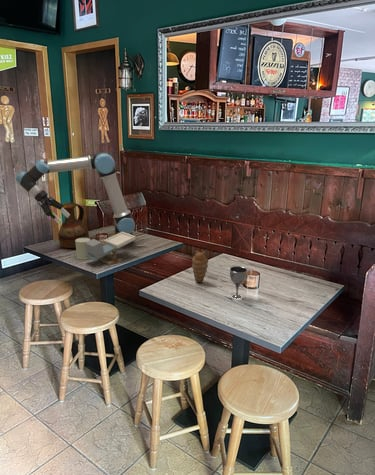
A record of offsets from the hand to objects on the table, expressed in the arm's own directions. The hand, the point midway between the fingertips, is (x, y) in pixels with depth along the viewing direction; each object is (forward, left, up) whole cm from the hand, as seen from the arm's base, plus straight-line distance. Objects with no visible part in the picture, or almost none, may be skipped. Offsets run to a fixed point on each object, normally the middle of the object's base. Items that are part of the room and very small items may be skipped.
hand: (64, 219), depth 230 cm
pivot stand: (-16, +23, -24) cm, 37 cm away
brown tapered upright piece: (-33, +84, -25) cm, 94 cm away
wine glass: (-34, +109, -25) cm, 117 cm away
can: (-7, +8, -25) cm, 27 cm away
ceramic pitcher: (-14, -17, -25) cm, 33 cm away
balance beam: (-17, +23, -17) cm, 33 cm away
